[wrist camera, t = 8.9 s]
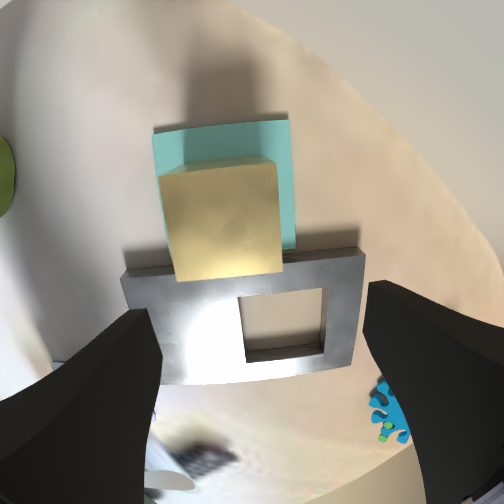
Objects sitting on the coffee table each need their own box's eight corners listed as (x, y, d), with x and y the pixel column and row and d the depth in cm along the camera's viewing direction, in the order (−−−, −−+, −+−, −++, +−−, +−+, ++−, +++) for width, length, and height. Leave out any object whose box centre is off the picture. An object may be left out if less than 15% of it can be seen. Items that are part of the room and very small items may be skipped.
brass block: (194, 235, 18) (176, 282, 12) (183, 163, 16) (157, 176, 10) (266, 228, 18) (282, 271, 12) (261, 154, 16) (276, 162, 10)
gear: (408, 354, 22) (476, 411, 17) (419, 329, 26) (478, 379, 21) (344, 417, 27) (402, 463, 22) (363, 390, 31) (415, 432, 26)
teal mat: (172, 258, 18) (171, 260, 18) (153, 134, 15) (151, 134, 15) (294, 246, 19) (295, 248, 18) (287, 120, 16) (289, 119, 15)
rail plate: (160, 373, 22) (158, 384, 21) (126, 269, 18) (119, 279, 17) (345, 354, 23) (350, 365, 21) (357, 246, 19) (365, 254, 18)
